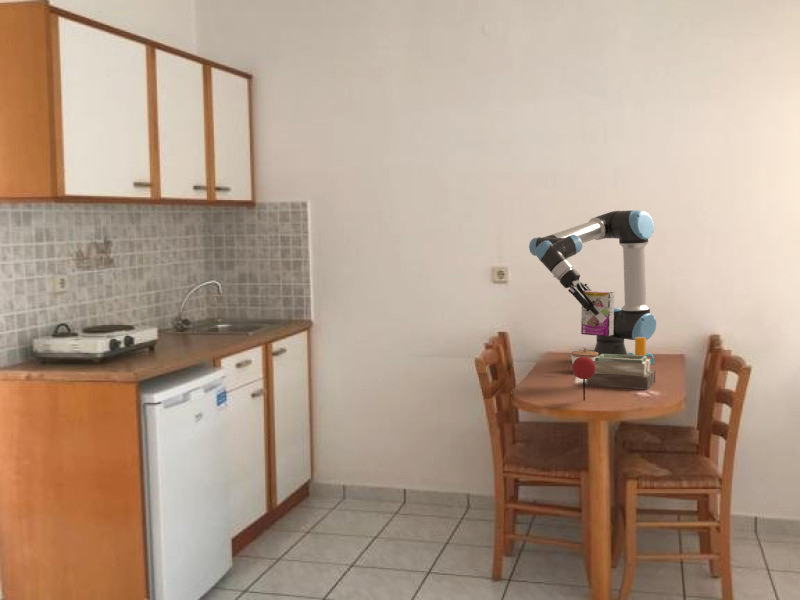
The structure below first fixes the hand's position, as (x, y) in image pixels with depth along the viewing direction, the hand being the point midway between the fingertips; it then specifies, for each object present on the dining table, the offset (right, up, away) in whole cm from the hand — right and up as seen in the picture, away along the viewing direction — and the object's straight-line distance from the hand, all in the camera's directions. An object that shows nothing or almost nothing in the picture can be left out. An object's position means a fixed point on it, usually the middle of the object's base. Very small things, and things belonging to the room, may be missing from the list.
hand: (607, 319), depth 341 cm
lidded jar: (-2, -22, +31) cm, 38 cm away
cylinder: (+17, -22, +20) cm, 35 cm away
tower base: (+6, -24, +2) cm, 25 cm away
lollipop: (-14, -27, -27) cm, 41 cm away
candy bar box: (-3, -6, +3) cm, 7 cm away
